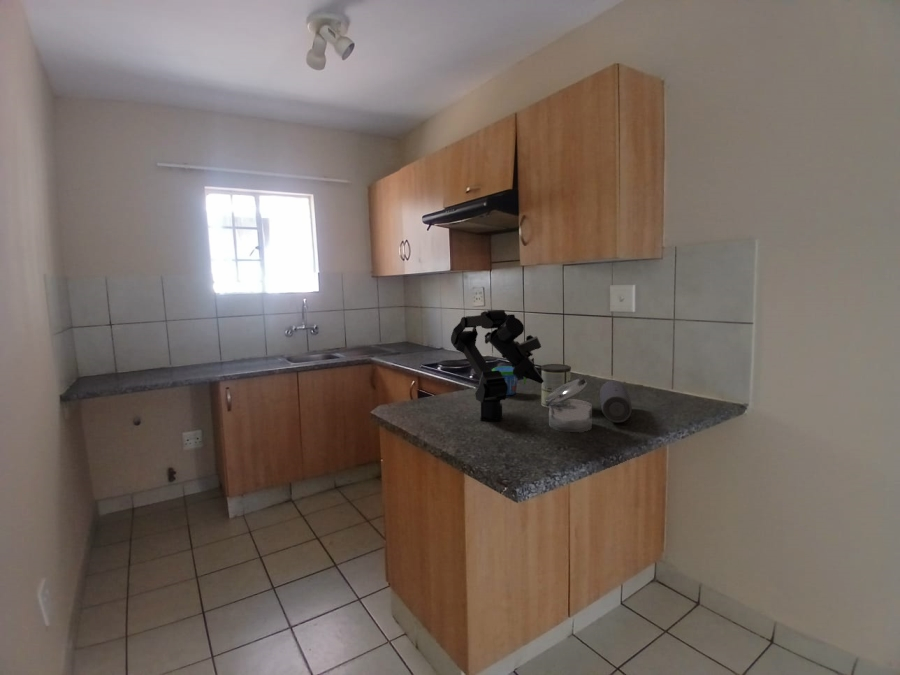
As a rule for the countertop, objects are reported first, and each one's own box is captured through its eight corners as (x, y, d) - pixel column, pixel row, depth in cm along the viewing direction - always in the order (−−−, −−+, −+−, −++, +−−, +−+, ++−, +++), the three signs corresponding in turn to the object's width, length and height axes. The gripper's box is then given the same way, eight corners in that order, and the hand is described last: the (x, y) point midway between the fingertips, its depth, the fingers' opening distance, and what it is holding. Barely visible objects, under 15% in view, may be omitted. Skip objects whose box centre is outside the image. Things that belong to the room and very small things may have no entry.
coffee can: (539, 401, 164) (539, 363, 162) (567, 401, 163) (568, 363, 161) (542, 409, 153) (542, 369, 152) (572, 409, 152) (573, 369, 151)
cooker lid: (548, 409, 129) (543, 402, 129) (545, 398, 142) (541, 391, 142) (590, 387, 126) (586, 380, 126) (583, 378, 139) (580, 371, 139)
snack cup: (487, 397, 171) (486, 371, 169) (486, 390, 181) (485, 366, 180) (527, 396, 170) (527, 371, 169) (524, 390, 180) (524, 365, 179)
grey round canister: (550, 431, 130) (550, 409, 129) (547, 418, 142) (547, 398, 141) (594, 433, 128) (595, 410, 127) (588, 420, 140) (588, 399, 139)
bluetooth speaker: (633, 428, 132) (634, 395, 131) (600, 425, 135) (601, 393, 134) (626, 407, 154) (627, 379, 153) (598, 405, 157) (599, 378, 155)
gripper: (525, 331, 124) (564, 370, 124) (525, 324, 142) (560, 358, 142) (497, 358, 127) (535, 397, 126) (501, 348, 145) (535, 382, 144)
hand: (542, 382), depth 134 cm, fingers closed
